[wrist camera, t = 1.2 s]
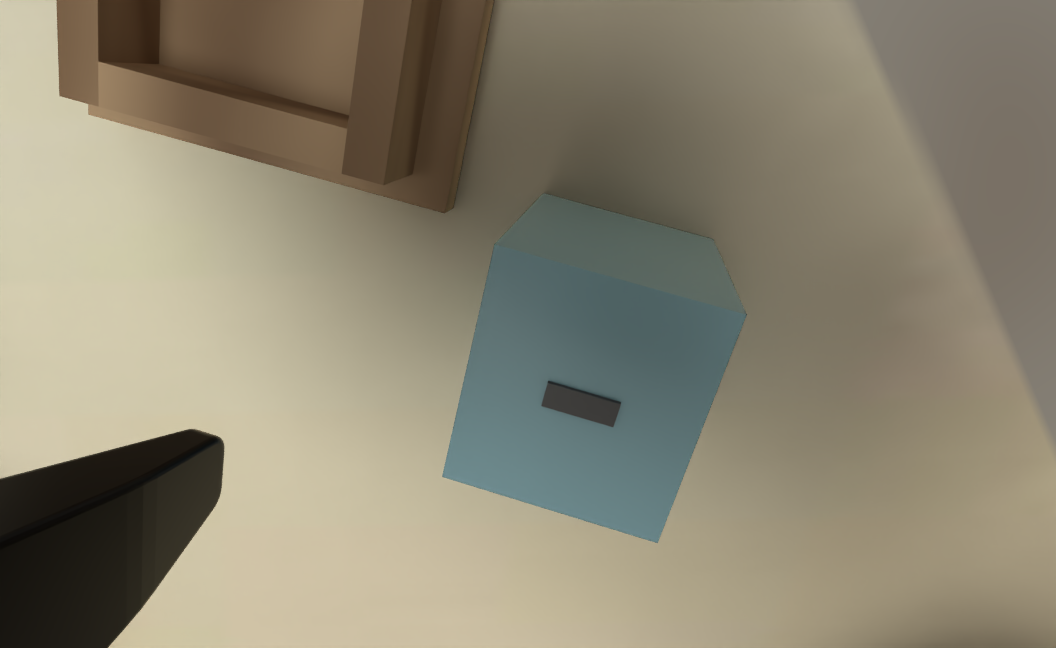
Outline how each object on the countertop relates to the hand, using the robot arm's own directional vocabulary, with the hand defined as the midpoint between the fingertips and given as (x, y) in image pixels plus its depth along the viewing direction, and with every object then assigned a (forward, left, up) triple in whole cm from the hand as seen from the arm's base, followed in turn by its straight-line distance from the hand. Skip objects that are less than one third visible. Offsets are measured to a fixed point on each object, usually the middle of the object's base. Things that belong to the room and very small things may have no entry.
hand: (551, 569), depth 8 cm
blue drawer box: (0, 0, -10) cm, 10 cm away
